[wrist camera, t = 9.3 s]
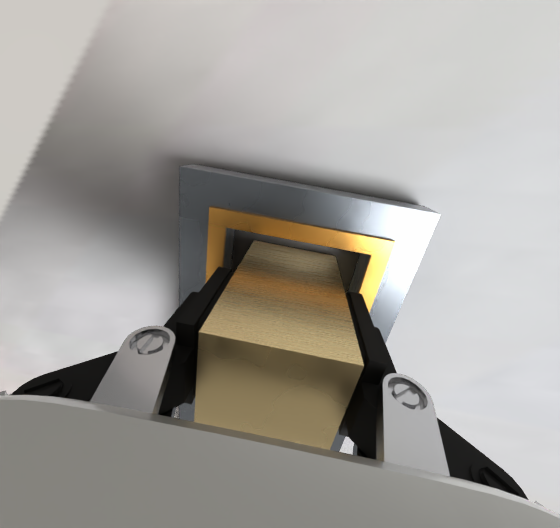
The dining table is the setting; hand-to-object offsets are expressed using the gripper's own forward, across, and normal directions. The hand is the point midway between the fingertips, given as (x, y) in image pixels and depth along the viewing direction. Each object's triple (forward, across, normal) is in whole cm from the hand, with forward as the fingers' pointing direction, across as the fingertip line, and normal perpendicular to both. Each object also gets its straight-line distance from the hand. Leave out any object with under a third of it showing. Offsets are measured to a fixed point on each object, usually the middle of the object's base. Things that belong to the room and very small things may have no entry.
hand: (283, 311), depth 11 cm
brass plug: (+2, 0, 0) cm, 2 cm away
